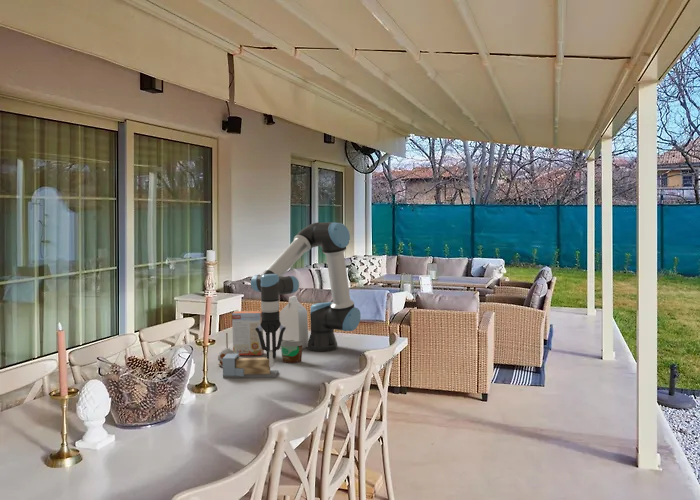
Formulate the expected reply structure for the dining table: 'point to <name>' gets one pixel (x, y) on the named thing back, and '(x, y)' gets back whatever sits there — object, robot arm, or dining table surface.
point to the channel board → (272, 375)
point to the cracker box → (246, 332)
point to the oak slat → (253, 365)
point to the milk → (294, 322)
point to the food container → (291, 351)
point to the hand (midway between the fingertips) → (271, 366)
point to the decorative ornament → (224, 352)
